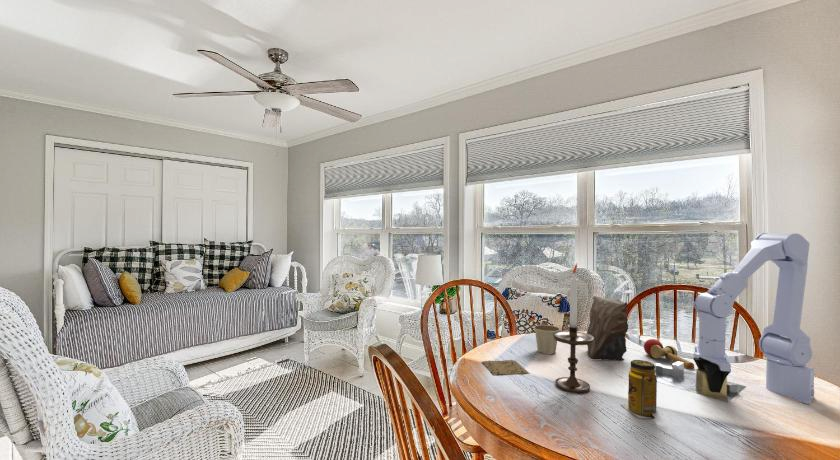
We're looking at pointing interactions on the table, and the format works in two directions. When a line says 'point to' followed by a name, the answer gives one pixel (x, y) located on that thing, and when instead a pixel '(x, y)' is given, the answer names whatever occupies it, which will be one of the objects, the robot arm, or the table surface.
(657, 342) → the kendama
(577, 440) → the table surface
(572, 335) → the candlestick
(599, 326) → the brown rock block
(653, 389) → the condiment
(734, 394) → the shaft base
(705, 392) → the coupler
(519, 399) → the table surface
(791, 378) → the robot arm
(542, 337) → the flower pot
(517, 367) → the brown stone coaster
